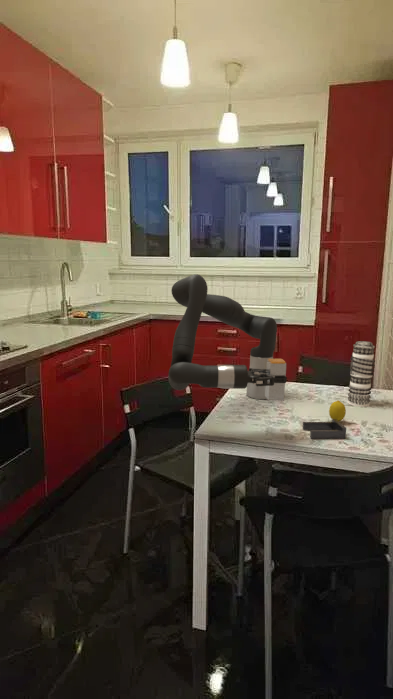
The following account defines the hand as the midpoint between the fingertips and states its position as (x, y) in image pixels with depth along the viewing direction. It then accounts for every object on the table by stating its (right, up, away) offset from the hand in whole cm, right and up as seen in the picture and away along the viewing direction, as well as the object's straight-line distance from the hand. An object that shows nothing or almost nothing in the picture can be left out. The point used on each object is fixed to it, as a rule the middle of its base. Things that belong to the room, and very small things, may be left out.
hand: (283, 377), depth 146 cm
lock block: (-3, -7, +1) cm, 7 cm away
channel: (+13, -19, +3) cm, 23 cm away
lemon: (+21, -17, +14) cm, 31 cm away
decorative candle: (+37, -13, +37) cm, 54 cm away
